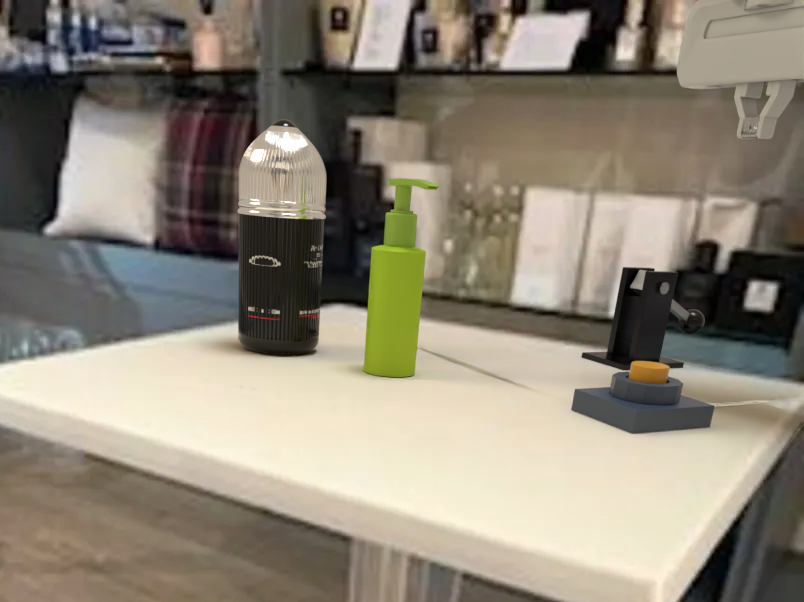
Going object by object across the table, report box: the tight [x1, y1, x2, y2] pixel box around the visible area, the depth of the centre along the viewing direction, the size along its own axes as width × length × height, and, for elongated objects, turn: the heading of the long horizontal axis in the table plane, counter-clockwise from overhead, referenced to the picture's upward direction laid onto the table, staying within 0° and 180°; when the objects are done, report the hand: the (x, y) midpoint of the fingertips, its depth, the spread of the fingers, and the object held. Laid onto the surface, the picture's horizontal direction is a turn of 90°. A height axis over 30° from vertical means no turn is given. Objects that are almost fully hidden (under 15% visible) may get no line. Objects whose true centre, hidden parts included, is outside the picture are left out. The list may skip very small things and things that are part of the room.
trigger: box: [630, 270, 706, 336], centre depth 111 cm, size 13×3×3 cm, turn 116°
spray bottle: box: [236, 118, 327, 356], centre depth 103 cm, size 10×10×25 cm
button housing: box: [570, 371, 716, 435], centre depth 86 cm, size 10×9×4 cm
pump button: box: [628, 361, 671, 384], centre depth 85 cm, size 4×4×2 cm
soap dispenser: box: [363, 177, 440, 378], centre depth 95 cm, size 6×7×20 cm
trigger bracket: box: [581, 266, 685, 371], centre depth 110 cm, size 10×8×12 cm
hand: (753, 138), depth 84 cm, fingers closed
